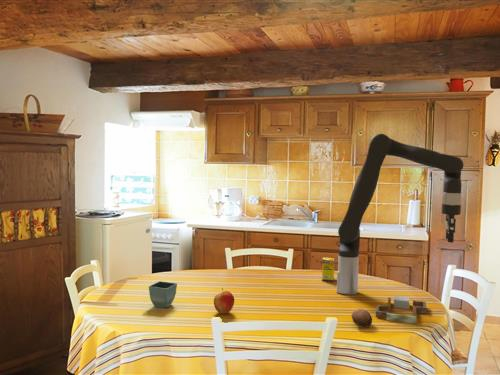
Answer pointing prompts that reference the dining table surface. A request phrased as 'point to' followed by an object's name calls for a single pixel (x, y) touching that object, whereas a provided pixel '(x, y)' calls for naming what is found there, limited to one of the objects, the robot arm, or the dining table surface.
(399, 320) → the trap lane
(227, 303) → the apple
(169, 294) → the flower pot
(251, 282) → the dining table surface
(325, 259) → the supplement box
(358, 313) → the brown oval ball
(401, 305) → the block
